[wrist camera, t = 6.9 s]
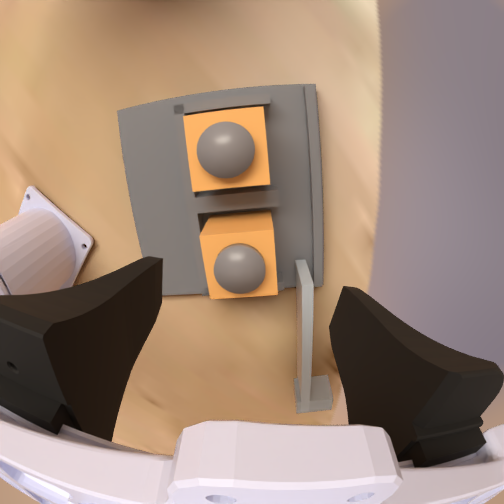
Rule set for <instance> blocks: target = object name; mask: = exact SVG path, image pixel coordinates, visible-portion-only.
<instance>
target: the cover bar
mask: <svg viewBox="0 0 504 504" xmlns="http://www.w3.org/2000/svg"><path fill="white" fill-rule="evenodd" d="M295 267H296V302H297V378H294V395H295V404H296V413H306V412H315V411H323V410H331V409H332V403H333V395H332V390H331V386H330V382H329V378H328V375H321V376H313V377H311V368H312V343H313V297H314V284H313V281H312V278H311V275H310V272H309V269H308V266H307V263H306V260H305V259H303V260H295Z"/></svg>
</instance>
